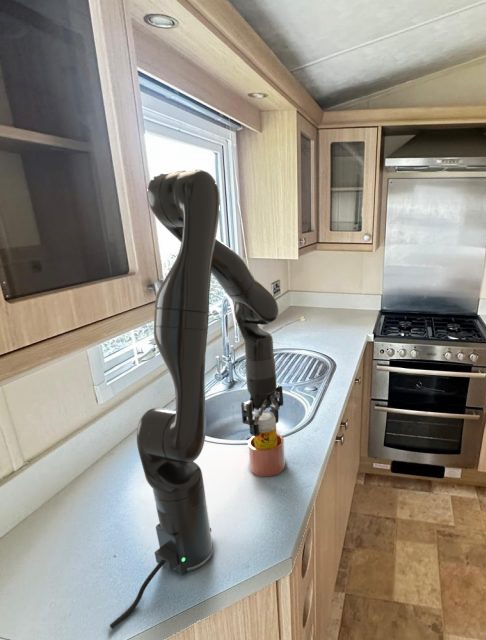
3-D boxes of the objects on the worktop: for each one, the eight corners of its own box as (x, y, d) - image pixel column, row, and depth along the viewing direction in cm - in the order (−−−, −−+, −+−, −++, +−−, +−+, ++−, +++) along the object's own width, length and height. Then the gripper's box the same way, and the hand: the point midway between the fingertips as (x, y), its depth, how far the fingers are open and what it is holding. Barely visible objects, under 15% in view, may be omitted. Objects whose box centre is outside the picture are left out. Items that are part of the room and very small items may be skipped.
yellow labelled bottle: (257, 471, 110) (253, 422, 105) (255, 459, 116) (251, 412, 110) (280, 467, 112) (277, 419, 106) (276, 455, 117) (273, 409, 112)
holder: (270, 480, 108) (268, 454, 105) (243, 469, 112) (240, 444, 110) (291, 462, 115) (290, 437, 112) (265, 452, 120) (263, 429, 117)
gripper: (267, 361, 111) (270, 414, 117) (230, 379, 100) (236, 437, 106) (289, 366, 107) (291, 421, 113) (253, 385, 96) (258, 444, 102)
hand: (265, 428), depth 110 cm, fingers open, 8 cm apart
